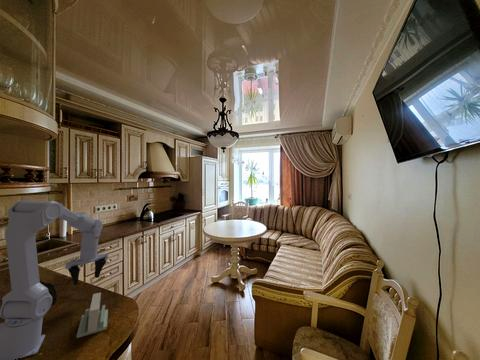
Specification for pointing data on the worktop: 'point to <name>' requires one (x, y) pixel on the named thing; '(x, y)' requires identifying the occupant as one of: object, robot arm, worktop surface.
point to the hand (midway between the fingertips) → (86, 280)
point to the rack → (100, 326)
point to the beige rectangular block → (94, 313)
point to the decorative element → (51, 286)
